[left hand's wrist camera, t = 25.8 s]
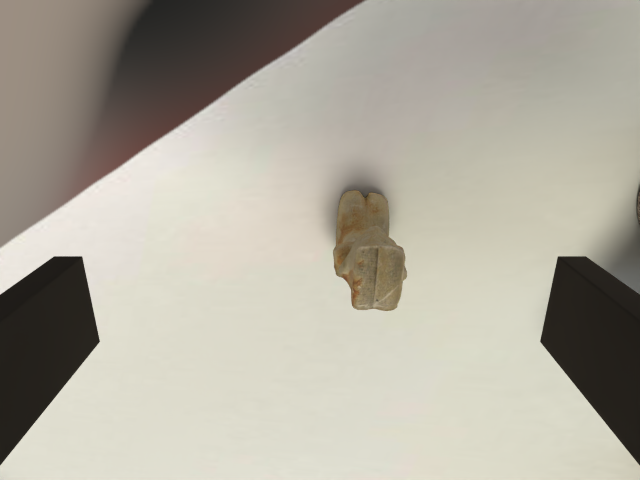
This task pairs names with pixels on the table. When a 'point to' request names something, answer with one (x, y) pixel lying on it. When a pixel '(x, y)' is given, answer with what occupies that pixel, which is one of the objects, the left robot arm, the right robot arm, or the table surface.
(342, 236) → the sculpture
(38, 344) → the left robot arm
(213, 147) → the table surface
